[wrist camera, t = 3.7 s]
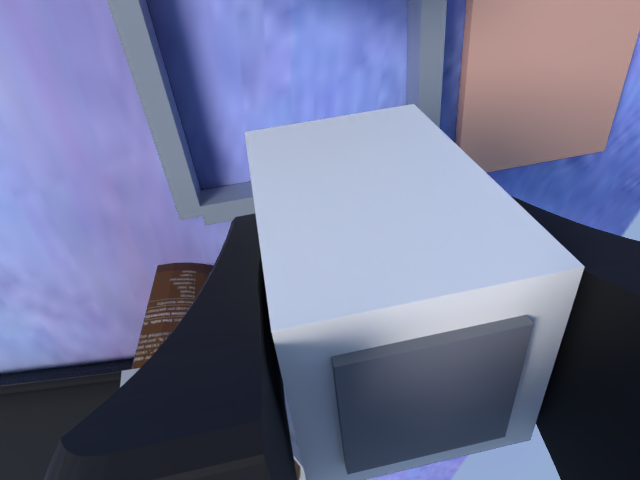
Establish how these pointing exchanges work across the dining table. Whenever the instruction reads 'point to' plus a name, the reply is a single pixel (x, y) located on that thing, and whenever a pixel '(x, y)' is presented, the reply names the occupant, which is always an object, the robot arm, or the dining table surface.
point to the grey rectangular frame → (166, 125)
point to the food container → (167, 311)
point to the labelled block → (402, 293)
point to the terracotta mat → (542, 78)
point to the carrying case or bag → (48, 412)
